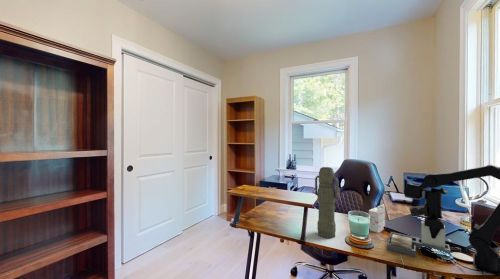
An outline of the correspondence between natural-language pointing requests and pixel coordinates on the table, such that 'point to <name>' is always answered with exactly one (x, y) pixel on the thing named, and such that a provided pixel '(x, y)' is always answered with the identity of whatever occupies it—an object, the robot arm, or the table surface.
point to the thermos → (326, 202)
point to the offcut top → (402, 239)
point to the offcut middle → (401, 244)
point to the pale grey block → (427, 238)
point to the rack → (415, 245)
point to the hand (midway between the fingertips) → (433, 237)
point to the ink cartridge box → (377, 218)
